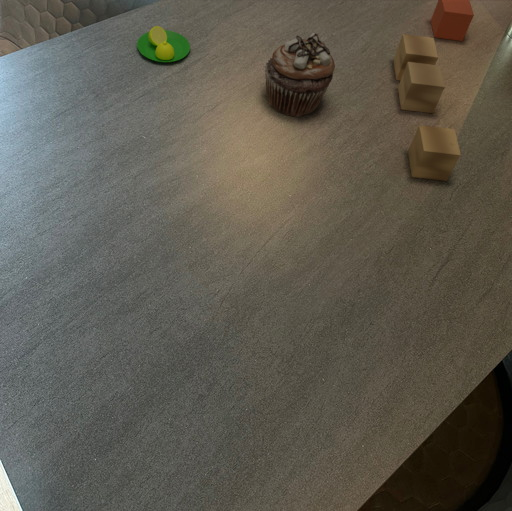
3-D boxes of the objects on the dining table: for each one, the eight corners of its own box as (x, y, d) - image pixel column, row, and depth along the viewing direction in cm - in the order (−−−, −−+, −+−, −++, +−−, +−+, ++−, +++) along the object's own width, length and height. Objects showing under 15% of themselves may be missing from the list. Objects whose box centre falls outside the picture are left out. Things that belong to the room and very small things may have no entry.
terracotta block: (457, 24, 110) (469, -2, 106) (462, 41, 107) (474, 15, 103) (430, 20, 110) (440, -6, 106) (434, 37, 107) (444, 11, 103)
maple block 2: (428, 92, 98) (440, 65, 94) (433, 113, 95) (445, 86, 91) (397, 88, 97) (407, 61, 93) (400, 109, 94) (411, 82, 90)
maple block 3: (441, 155, 89) (454, 129, 85) (446, 181, 86) (460, 155, 82) (407, 151, 89) (419, 124, 85) (411, 177, 86) (423, 150, 82)
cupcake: (301, 71, 97) (313, 13, 89) (337, 110, 92) (354, 52, 84) (248, 87, 93) (256, 27, 85) (283, 128, 89) (296, 69, 81)
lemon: (125, 47, 95) (125, 30, 93) (163, 27, 99) (163, 11, 97) (163, 72, 93) (163, 56, 90) (200, 50, 97) (201, 34, 95)
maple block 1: (423, 64, 102) (433, 37, 98) (427, 84, 99) (438, 57, 95) (393, 60, 102) (402, 33, 98) (396, 80, 99) (406, 53, 95)
